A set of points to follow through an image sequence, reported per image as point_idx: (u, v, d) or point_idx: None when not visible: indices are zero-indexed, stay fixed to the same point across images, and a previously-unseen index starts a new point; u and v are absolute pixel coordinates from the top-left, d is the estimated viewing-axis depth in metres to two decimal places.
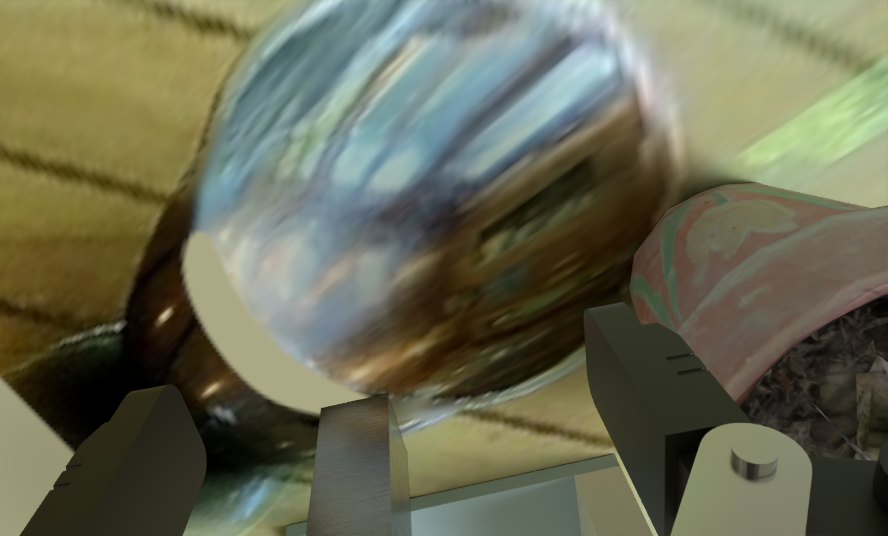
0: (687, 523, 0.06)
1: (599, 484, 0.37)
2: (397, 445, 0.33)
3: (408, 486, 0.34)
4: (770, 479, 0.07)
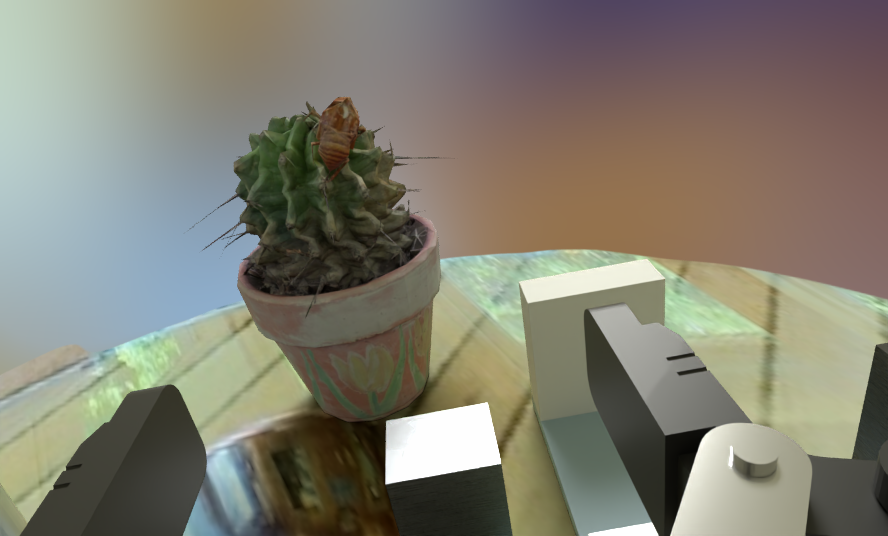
0: (687, 523, 0.06)
1: (535, 398, 0.43)
2: None
3: None
4: (770, 479, 0.07)
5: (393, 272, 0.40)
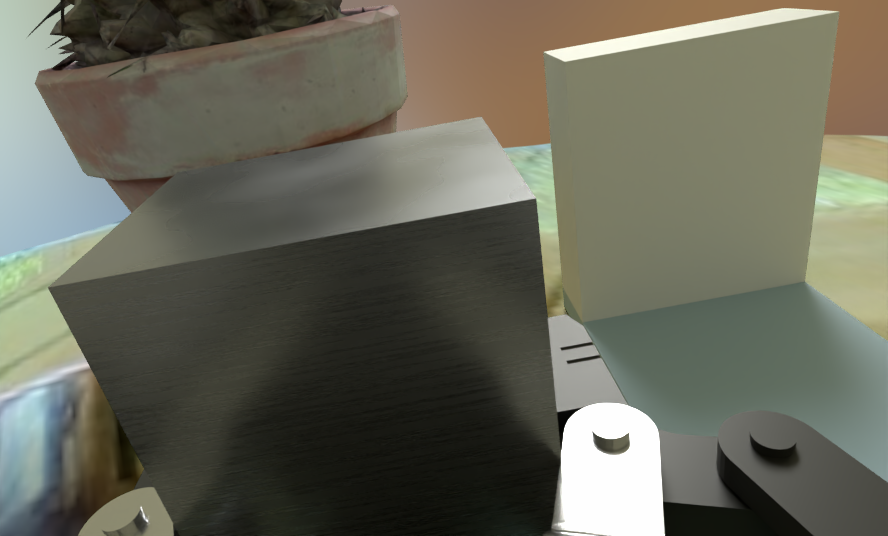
0: (565, 506, 0.07)
1: (571, 284, 0.24)
2: None
3: None
4: (619, 452, 0.07)
5: (305, 28, 0.21)
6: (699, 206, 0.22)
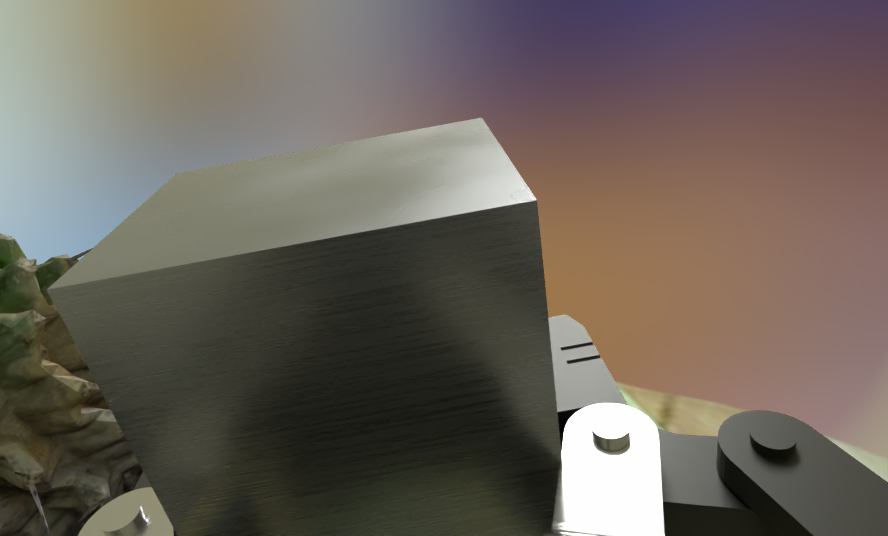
0: (565, 506, 0.07)
1: None
2: None
3: None
4: (619, 452, 0.07)
5: None
6: None
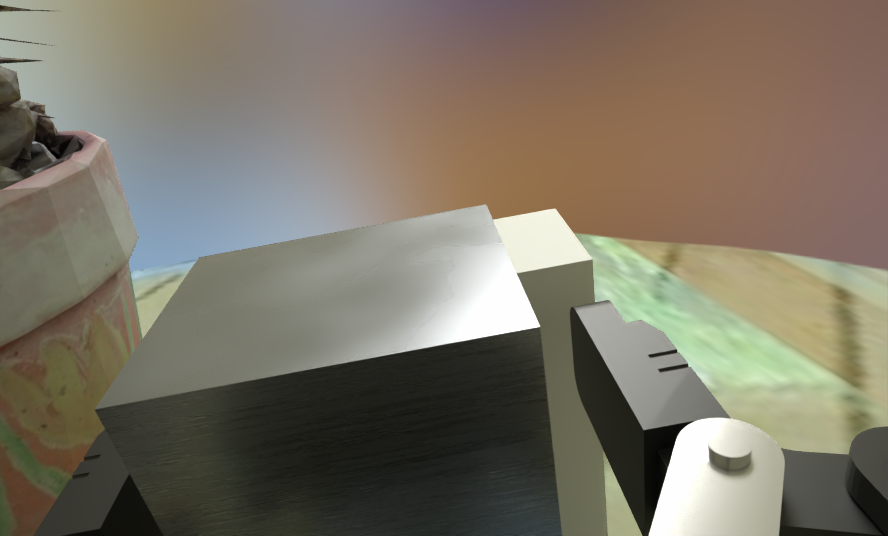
0: (666, 518, 0.07)
1: None
2: None
3: None
4: (743, 472, 0.07)
5: None
6: None
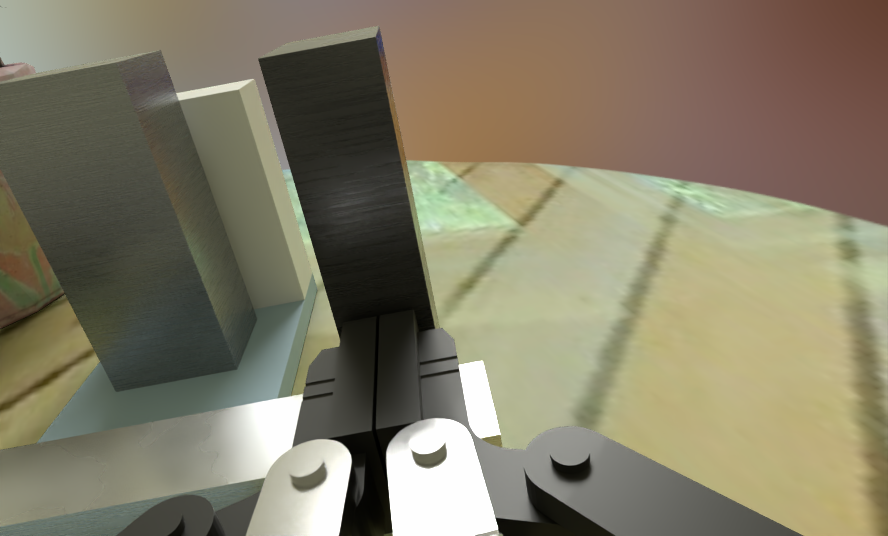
0: (403, 531, 0.07)
1: None
2: None
3: None
4: (429, 466, 0.08)
5: None
6: None
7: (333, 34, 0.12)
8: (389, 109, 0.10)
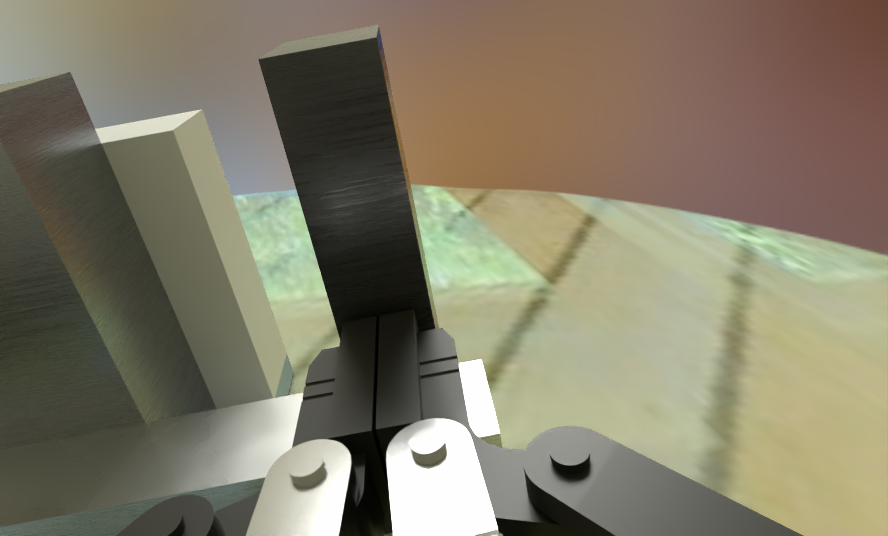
0: (403, 531, 0.07)
1: None
2: None
3: None
4: (429, 466, 0.08)
5: None
6: None
7: (332, 33, 0.12)
8: (390, 110, 0.10)
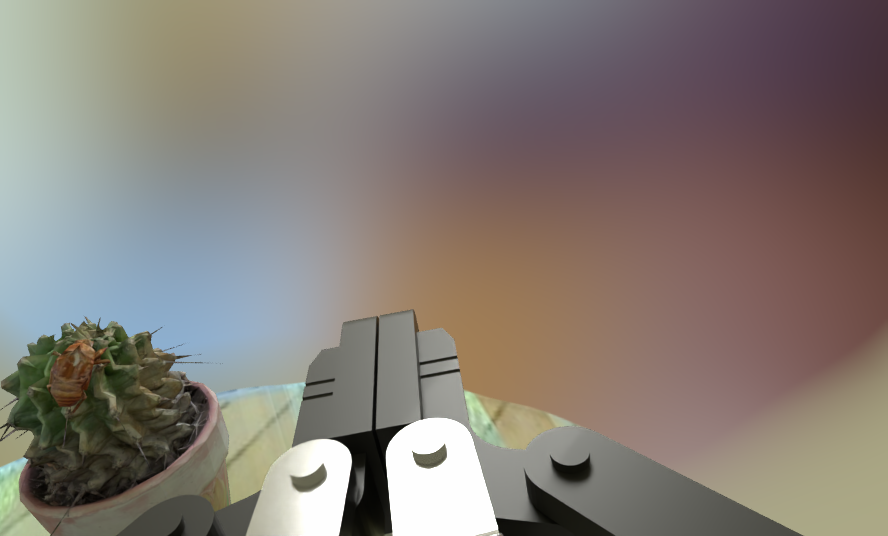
0: (403, 531, 0.07)
1: None
2: None
3: None
4: (429, 466, 0.08)
5: (148, 481, 0.43)
6: None
7: None
8: None
